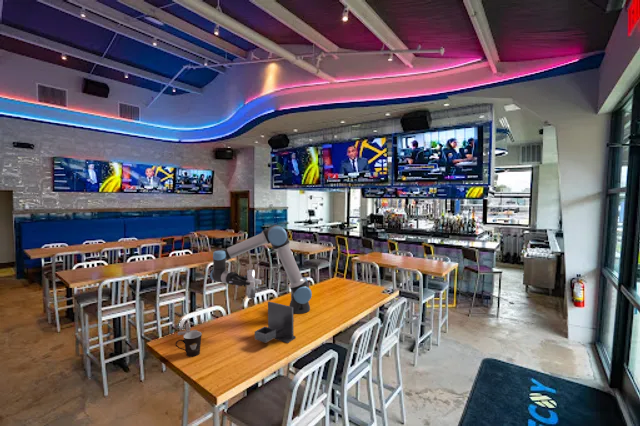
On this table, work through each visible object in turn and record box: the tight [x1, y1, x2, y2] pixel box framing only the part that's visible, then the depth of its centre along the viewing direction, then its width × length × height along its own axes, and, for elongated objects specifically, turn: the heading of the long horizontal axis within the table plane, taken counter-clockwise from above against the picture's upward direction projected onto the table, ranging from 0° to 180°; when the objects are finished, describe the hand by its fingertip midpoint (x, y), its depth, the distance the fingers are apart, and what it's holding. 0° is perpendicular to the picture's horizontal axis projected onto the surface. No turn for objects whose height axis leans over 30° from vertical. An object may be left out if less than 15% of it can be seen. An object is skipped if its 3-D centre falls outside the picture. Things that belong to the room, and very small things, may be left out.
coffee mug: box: [175, 330, 203, 358], centre depth 158 cm, size 12×9×10 cm
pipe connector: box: [177, 322, 198, 336], centre depth 172 cm, size 10×10×10 cm
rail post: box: [246, 268, 256, 299], centre depth 179 cm, size 4×4×16 cm
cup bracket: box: [254, 301, 297, 344], centre depth 171 cm, size 19×18×19 cm
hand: (257, 283), depth 176 cm, fingers closed on rail post, 4 cm apart
